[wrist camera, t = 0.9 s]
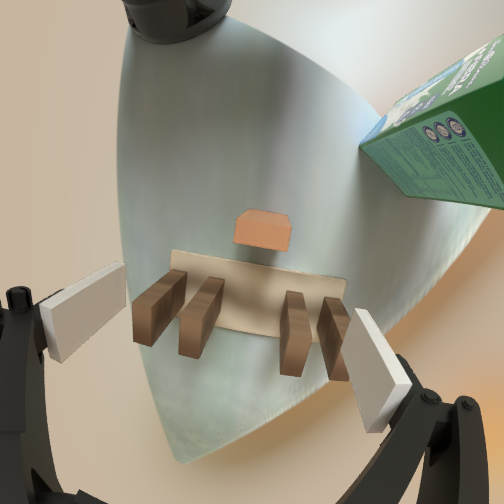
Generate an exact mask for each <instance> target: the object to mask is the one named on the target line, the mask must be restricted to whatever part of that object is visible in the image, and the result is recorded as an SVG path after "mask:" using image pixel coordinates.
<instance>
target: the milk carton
mask: <svg viewBox="0 0 504 504" xmlns="http://www.w3.org/2000/svg"><path fill="white" fill-rule="evenodd" d="M359 146H360V147H361V148H362V149H363V150H364V151H365V152H366V153H367V154H368V155H369V156H370V157H371V158H372V159H373V160H374V161H375V162H376V163H377V164H378V165H379V167H380V168H381V169H382V170H383V171H384V172H385V173H386V174H387V175H388V176H389V177H390V178H391V179H392V180H393V182H394V183H395V184H396V185H397V186H398V187H399V188H400V189H401V190H402V192H403V193H404V194H405V195H406V196H407V197H413V198H423V199H431V200H440V201H447V202H455V203H462V204H469V205H475V206H482V207H488V208H494V209H500V210H504V34H503V35H501V36H499V37H498V38H496V39H494V40H492V41H491V42H489V43H487V44H486V45H484V46H482V47H481V48H479V49H478V50H476V51H474V52H473V53H471V54H469V55H468V56H466V57H464V58H463V59H461V60H459V61H458V62H456V63H455V64H453V65H451V66H450V67H448V68H447V69H445V70H444V71H442V72H441V73H439V74H437V75H436V76H434V77H433V78H431V79H430V80H428V81H427V82H425V83H424V84H422V85H421V86H419V87H418V88H416V89H415V90H413V91H412V92H410V93H409V94H407V95H406V96H405V97H403V98H401V99H400V100H398V101H397V102H396V103H395V104H394V106H393V107H392V108H391V109H390V110H389V111H388V112H387V114H386V115H385V116H384V117H383V118H382V119H381V120H380V122H379V123H378V124H377V125H376V126H375V127H374V128H373V130H372V131H371V132H370V133H369V134H368V135H367V136H366V137H365V139H364V140H363V141H362V142H361V143H360V144H359Z"/></svg>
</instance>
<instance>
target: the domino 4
mask: <svg viewBox="0 0 504 504" xmlns="http://www.w3.org/2000/svg"><path fill="white" fill-rule="evenodd" d="M350 320H351V319H350V317H349V315H348V313H347V311H346V309H345V308H344V306H343V304H342V302H341V300H340V299H339V298H333V297H326V296H325V297H324V300H323V304H322V308H321V312H320V315H319V319H318V322H317V326H316V329H317V333H318V337H319V341H320V345H321V349H322V353H323V357H324V361H325V365H326V369H327V374H328V378H329V380H335V381H349V374H348V371H347V368H346V365H345V362H344V359H343V356H342V353H341V350H340V349H341V346H342V343H343V340H344V338H345V335H346V332H347V329H348V326H349V323H350Z"/></svg>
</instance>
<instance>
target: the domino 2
mask: <svg viewBox="0 0 504 504" xmlns="http://www.w3.org/2000/svg"><path fill="white" fill-rule="evenodd" d="M224 282H225V279H221V278H216V277H211V276H209V277H208V278H207V279H206V281H205V282H204V283H203V285H202V286H201V287H200V289H199V290H198V291H197V293H196V294H195V295H194V297H193V298H192V299H191V301H190V302H189V303H188V304H187V306H186V307H185V308H184V310H183V311H182V313H181V314H180V329H179V352H178V354H179V355H183V356H187V357H191V358H195V359H199V358H200V356H201V353H202V351H203V349H204V347H205V344H206V342H207V340H208V338H209V336H210V333H211V331H212V329H213V327H214V325H215V322H216V320H217V318H218V316H219V314H220V311H221V304H222V297H223V289H224Z"/></svg>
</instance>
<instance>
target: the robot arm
mask: <svg viewBox="0 0 504 504" xmlns="http://www.w3.org/2000/svg"><path fill="white" fill-rule="evenodd" d="M122 1H123V3H124V7H125V10H126V14H127V18H128V22H129V24H130V26H131V28H132V29H133V31H134V32H135V33H136V34H137V35H138V36H140V37H141V38H142V39H143V40H145V41H148V42H151V43H156V44H171V43H177V42H181V41H185V40H188V39H191V38H193V37H196V36H198V35H200V34H202V33H204V32H205V31H207V30H209V29H210V28H212V27H213V26H214V25H216V24H217V23H218V22H219V21H220V20H221V19H222V18H223V17H224V16H225V14H226V13H227V12H228V10H229V8H230V5H231V2H232V0H122ZM6 297H7V301H8V307H9V310H8V309H4V308H2V306H1V301H0V504H108V503H105V502H103V501H101V500H99V499H97V498H95V497H93V496H91V495H89V494H87V493H85V492H83V491H82V490H80V489H79V491H78V493H77V494H76V495H74V494H69V493H64V492H63V490H62V488H61V486H60V484H59V482H58V479H57V476H56V472H55V467H54V462H53V457H52V452H51V446H50V440H49V432H48V424H47V416H46V404H45V385H44V354H43V350H44V349H45V348H48V352H49V356H50V358H52V359H54V360H56V361H57V362H59V363H63V362H64V361H65V360H66V359H67V358H68V357H69V356H70V355H71V354H72V353H73V352H75V351H76V350H77V349H78V348H79V347H80V346H81V345H82V344H83V343H84V342H86V341H87V340H88V339H89V338H90V337H91V336H92V335H93V334H94V333H95V332H97V331H98V330H99V329H100V328H101V327H102V326H103V325H104V324H106V323H107V322H108V321H109V320H110V319H111V318H112V317H113V316H115V315H116V314H117V313H118V312H119V311H120V310H122V309H123V308H124V307H125V306H126V264H125V263H121V262H117V261H114V262H113V263H111V264H109V265H107V266H105V267H103V268H102V269H100V270H98V271H96V272H94V273H92V274H90V275H89V276H87V277H85V278H83V279H81V280H80V281H78V282H76V283H74V284H72V285H71V286H69V287H67V288H65V289H61V290H59V291H57V292H55V293H54V294H53V295H50V296H48V298H45V299H43V300H42V301H40V302H38V303H37V304H35V305H33V303H32V296H31V290H30V289H29V288H28V287H24V286H18V287H13V288H10V289H9V290H7V292H6ZM340 350H341V353H342V356H343V359H344V362H345V365H346V368H347V371H348V374H349V378H350V381H351V384H352V387H353V390H354V393H355V397H356V400H357V403H358V406H359V410H360V413H361V417H362V420H363V423H364V427H365V430H366V433H382V432H383V431H384V429H385V428H386V426H387V425H388V423H389V425H390V428H391V431H390V432H389V434H388V435H387V436H386V438H385V439H384V440H383V442H382V443H381V444H380V447H379V449H378V450H377V452H376V453H375V455H374V456H373V457H372V459H371V460H370V462H369V463H368V464H367V466H366V467H365V468H364V470H363V471H362V472H361V474H360V475H359V476H358V478H357V479H356V480H355V481H354V483H353V484H352V485H351V486H350V487H349V489H348V490H347V491H346V492H345V494H344V495H343V496H342V497H341V498H340V499H339V500H338V501H337V503H336V504H398V503H399V501H400V499H401V498H402V496H403V494H404V492H405V490H406V489H407V487H408V485H409V483H410V481H411V479H412V477H413V475H414V473H415V471H416V469H417V467H418V465H419V463H420V460H421V458H422V456H423V453H424V451H425V456H424V463H423V470H422V477H421V483H420V489H419V494H418V499H417V503H416V504H489V478H488V461H487V451H486V443H485V435H484V429H483V422H482V417H481V412H480V407H479V405H478V403H477V402H476V401H475V400H474V399H473V398H471V397H468V396H459V397H458V398H457V400H456V401H455V403H454V404H449V403H443V402H442V400H441V398H440V396H439V395H438V394H437V393H436V392H434V391H433V390H430V389H427V388H423V387H422V385H421V384H420V382H419V380H418V379H417V377H416V375H415V374H414V373H413V370H412V369H411V368H410V366H409V364H408V362H407V361H406V360H405V359H404V358H403V357H402V356H401V355H399V354H394V352H393V351H392V349H391V348H390V346H389V344H388V342H387V341H386V339H385V337H384V336H383V334H382V333H381V331H380V329H379V328H378V326H377V325H376V323H375V322H374V320H373V319H372V317H371V315H370V314H369V312H368V311H367V310H365V309H358V308H354V311H353V314H352V317H351V320H350V323H349V326H348V329H347V332H346V335H345V338H344V340H343V343H342V346H341V349H340Z"/></svg>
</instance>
